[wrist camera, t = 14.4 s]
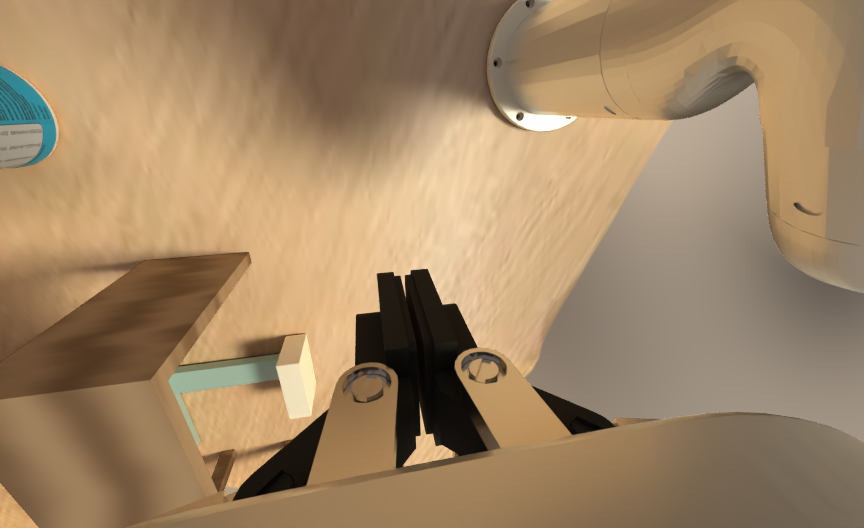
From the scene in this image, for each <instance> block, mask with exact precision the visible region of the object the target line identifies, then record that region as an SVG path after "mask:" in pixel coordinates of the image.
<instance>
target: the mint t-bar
mask: <svg viewBox="0 0 864 528" xmlns="http://www.w3.org/2000/svg"><path fill="white" fill-rule="evenodd" d="M272 380H280V384H281V388H282V392H283V395H284V399H285V403H286V407H287V411H288V414H289V418H290V419H295V418H301V417H307V416H311V413H312V407H313V400H314V394H315V388H316V379H315V374H314V370H313V365H312V360H311V355H310V350H309V345H308V340H307V335H306V334H301V335H292V336H286V337H285V340H284V343H283V346H282V349H281V352H280V354H274V355H266V356H258V357H251V358H243V359H235V360H227V361H219V362H211V363H203V364H195V365H187V366H179V367H178V368H177V369H176V371H175V372H174V373H173V375H172V376H171V378H170V379H169V380H168V381H169V384H170V386H171V388H172V390H173V393H174V395H175V397H176V399H177V402H178V404H179V406H180V408H181V411H182V413H183V415H184V417H185V420H186V422H187V424H188V426H189V429H190V431H191V433H192V435H193V438H194V440H195V442H196V444H197V446H198V444H199V442H200V439H199V436H198V434H197V432H196V429H195V427H194V425H193V422H192V420H191V418H190V416H189V413H188V411H187V409H186V406H185V404H184V402H183V399H182V397H181V395H180V393H186V392H193V391H200V390H207V389H214V388H222V387H229V386H236V385H243V384H251V383H258V382H265V381H272Z"/></svg>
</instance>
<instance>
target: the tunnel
mask: <svg viewBox="0 0 864 528" xmlns="http://www.w3.org/2000/svg"><path fill="white" fill-rule="evenodd" d="M250 264H251V258H250V255H249V252H247V253H234V254H221V255H208V256H195V257H182V258H170V259H157V260H145V261H143V262H142V263H140V264H139V265H138V266H136V267H135V268H133V269H132V270H130V271H129V272H128V273H126V274H125V275H123V276H122V277H121V278H119V279H118V280H116V281H115V282H113V283H112V284H111V285H109V286H108V287H106V288H105V289H104V290H102V291H101V292H99V293H98V294H97V295H95V296H94V297H92V298H91V299H89V300H88V301H87V302H85V303H84V304H82V305H81V306H80V307H78V308H77V309H75V310H74V311H72V312H71V313H70V314H68V315H67V316H65V317H64V318H63V319H61V320H60V321H58V322H57V323H55V324H54V325H53V326H51V327H50V328H48V329H47V330H46V331H44V332H43V333H41V334H40V335H39V336H37V337H36V338H34V339H33V340H31V341H30V342H29V343H27V344H26V345H24V346H23V347H22V348H20V349H19V350H17V351H16V352H14V353H13V354H12V355H10V356H9V357H7V358H6V359H5V360H3V361H2V362H0V483H1V484H2V485H3V486H4V488H5V489H6V490H7V491H8V492H9V493H10V495H11V496H12V497H13V498H14V499H15V500H16V501H17V503H18V504H19V505H20V506H21V507H22V508H23V510H24V511H25V512H26V513H27V514H28V515H29V517H30V518H31V519H32V520H33V521H34V522H35V523H36V525H37V526H38V527H39V528H126V527H129V526H132V525H135V524H138V523H140V522H143V521H145V520H148V519H151V518H153V517H156V516H158V515H161V514H164V513H166V512H169V511H171V510H174V509H177V508H179V507H182V506H184V505H187V504H189V503H192V502H195V501H197V500H200V499H202V498H205V497H208V496H210V495H213V494H215V493H218V492H221V491H223V490H224V489H225V486H226V483H227V480H228V478H229V475H230V472H231V469H232V466H233V463H234V461H235V458H236V453H235V450H228V451H222V452H221V455H220V457H219V460H218V462H217V465H216V467H215V470H214V472H213V475H212V477H211V476H210V474H209V471H208V469H207V467H206V465H205V462H204V460H203V458H202V456H201V453H200V451H199V449H198V447H197V444H196V442H195V440H194V438H193V435H192V433H191V431H190V429H189V426H188V424H187V422H186V420H185V417H184V415H183V413H182V411H181V408H180V406H179V404H178V402H177V399H176V397H175V395H174V393H173V390H172V388H171V386H170V384H169V381H168V380H169V379H170V378H171V376H172V375H173V373H174V372H175V371H176V369H177V368H178V366H179V365H180V363H181V362H182V361H183V359H184V358H185V356H186V355H187V353H188V352H189V351H190V349H191V348H192V346H193V345H194V344H195V342H196V341H197V339H198V338H199V336H200V335H201V334H202V332H203V331H204V329H205V328H206V326H207V325H208V324H209V322H210V321H211V319H212V318H213V317H214V315H215V314H216V312H217V311H218V309H219V308H220V307H221V305H222V304H223V302H224V301H225V299H226V298H227V297H228V295H229V294H230V292H231V291H232V290H233V288H234V287H235V285H236V284H237V282H238V281H239V280H240V278H241V277H242V275H243V274H244V272H245V271H246V270H247V268H248V267H249V265H250ZM291 441H292V440H288V441H285V445H284V447H285V446H286V445H287V444H288V443H289V442H291Z"/></svg>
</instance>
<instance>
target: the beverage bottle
mask: <svg viewBox="0 0 864 528" xmlns="http://www.w3.org/2000/svg"><path fill="white" fill-rule="evenodd" d="M58 139H59V127H58V122H57V119H56V116H55V114H54V112H53V110H52V108H51V106H50V105H49V103H48V102H47V100H46V99H45V98H44V96H43V95H42V94H41V93H40V92H39V91H38V90H37V89H36V88H35V87H34V86H33V85H32V84H31V83H30V82H28V81H27V80H26V79H24V78H23V77H22V76H20V75H19V74H17V73H15V72H14V71H12V70H10V69H8V68H6V67H4V66H2V65H0V169H3V168H17V167H24V166H29V165H33V164H37V163H39V162H41V161H43V160H45V159H46V158H47V157H49V156H50V155H51V154H52V153H53V151H54V150H55V148H56V146H57V143H58Z"/></svg>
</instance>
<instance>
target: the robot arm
mask: <svg viewBox="0 0 864 528" xmlns="http://www.w3.org/2000/svg"><path fill="white" fill-rule="evenodd" d="M526 2H527V3H528V8H527V6H526ZM494 61H496V62H497V65H496V66H494V63H493V62H494ZM487 79H488V85H489V89H490V93H491V96H492V98H493V100H494V102H495V105H496V106H497V108H498V109H499V111H500V112H501V114H502V115H503V116H504V117H505V118H506V119H507V120H509V121H510V122H511V123H513V124H514V125H516V126H518V127H520V128H523V129H526V130H529V131H536V132H541V131H551V130H555V129H559V128H561V127H563V126H565V125H567V124H569V123H570V122H572V121H573V120H575V119H576V118H578V117H583V118H606V119H630V120H664V121H667V120H679V119H685V118H690V117H693V116H696V115H699V114H702V113H705V112H707V111H710V110H712V109H714V108H716V107H718V106H720V105H721V104H723V103H725V102H727V101H728V100H730V99H731V98H733V97H734V96H736V95H738V94H739V93H740V92H742V91H743V90H745V89H746V88H748V87H749V86H750V85H751V84H753V83H754V82H755V85H756V88H757V91H758V99H759V110H760V123H761V125H762V131H763V152H764V171H765V191H766V200H767V213H768V220H769V227H770V230H771V234H772V237H773V240H774V241H775V243H776V245H777V247H778V248H779V251H780V252H781V253H782V254H783V255H784V257H785V258H786V259H787V260H788V261H789V262H790V263H792V264H793V265H794V266H795V267H797V268H798V269H800V270H801V271H803V272H805V273H806V274H808V275H810V276H812V277H814V278H816V279H818V280H820V281H823V282H826V283H829V284H831V285H835V286H838V287H841V288H845V289H848V290H852V291H856V292H862V293H864V0H517V1H515V2H514V3H513V4H512V6H511V7H510V8H509V9H508V10H507V11H506V12H505V14H504V15H503V17H502V18H501V20H500V22H499V23H498V25H497V27H496V29H495V32H494V34H493V36H492V39H491V43H490V47H489V51H488V58H487ZM516 114H518V118H517V119H516ZM377 280H378V291H379V302H380V312H374V313H365V314H357V315H356V346H355V366H354V367H352V368H350V369H349V370H347V371H346V372H344V374H343V375H342V376H341V377H340V378H339V380H338V381H337V383H336V386H335V389H334V393H333V396H332V400H331V403H330V407H329V409H328V410H327V411H326V412H324V413H323V414H322V415H321V416H320V417H319V418H317V419H316V420H315V421H314V422H313V423H312V424H310V425H309V426H308V427H307V428H306V429H305V430H303V431H302V432H301V433H300V434H299V435H298V436H296V437H295V438H294V439H293V440H292V441H291V442H289V443H288V444H287V445H286V446H285V447H283V448H282V449H281V450H280V451H279V452H278V453H276V454H275V455H274V456H273V457H272V458H271V459H269V460H268V461H267V462H266V463H265V464H264V465H262V466H261V467H260V468H259V469H258V470H257V471H255V472H254V473H253V474H252V475H251V476H250V477H249V478H248V479H247V480H246V481H245V482H244V483H243V484H242V485H241V487H240V488H239V490H238V491H237V492H234V493H232V494H229V495H226V493H225V491H224V490H223V491H221V492H218V493H215V494H213V495H210V496H208V497H205V498H202V499H200V500H197V501H195V502H192V503H189V504H187V505H184V506H182V507H179V508H177V509H174V510H171V511H169V512H166V513H164V514H161V515H158V516H156V517H153V518H151V519H148V520H145V521H143V522H140V523H138V524H135V525H132V526H129V527H126V528H864V442H863V441H861V440H859V439H857V438H856V437H854V436H852V435H850V434H848V433H845V432H843V431H841V430H838V429H836V428H832V427H830V426H827V425H823V424H820V423H817V422H813V421H808V420H804V419H800V418H794V417H788V416H781V415H774V414H768V413H755V412H719V413H705V414H697V415H690V416H681V417H673V418H667V419H640V418H614V422H613V423H611V422H610V421H609V420H607V419H606V418H604V417H603V416H601V415H599V414H597V413H595V412H593V411H590V410H588V409H586V408H583V407H581V406H578V405H576V404H573V403H571V402H569V401H567V400H564V399H562V398H559V397H557V396H554V395H552V394H550V393H548V392H545V391H543V390H540V389H538V388H536V387H533V386H531V385H530V384H529V383H528V381H527V380H526V379H525V378H524V377H523V375H522V374H521V373H520V372H519V371H518V369H517V368H516V367H515V366H514V365H513V363H512V362H511V361H510V360H509V359H508V358H507V357H506V356H505V355H504V354H502V353H500V352H498V351H496V350H492V349H489V348H478V347H477V345H476V343H475V341H474V339H473V337H472V335H471V333H470V331H469V329H468V327H467V325H466V323H465V321H464V319H463V317H462V315H461V313H460V311H459V309H458V307H457V305H456V304H446V305H442V303H441V300H440V298H439V295H438V293H437V291H436V288H435V286H434V283H433V281H432V279H431V276H430V274H429V271H428V269H421V270H411V275H405V290H406V298H405V293H404V289H403V285H402V281H401V277H400V276H394V273H393V272H388V273H378V274H377ZM419 402H420V405H419ZM420 407H421V412H422V417H423V422H424V427H425V431H426V434H432V433H433V436H434V440H435V445H436V446H439V445H443V446H445V447H447V448H449V449H450V450H452V451H453V458H448V459H443V460H437V461H432V462H427V463H422V464H417V465H411V466H406V467H404V463H405V462H406V460H407V459H408V458H409V457H410V455H411V454H412V453H413V451H414V450H415V449H416V436H420Z"/></svg>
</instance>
